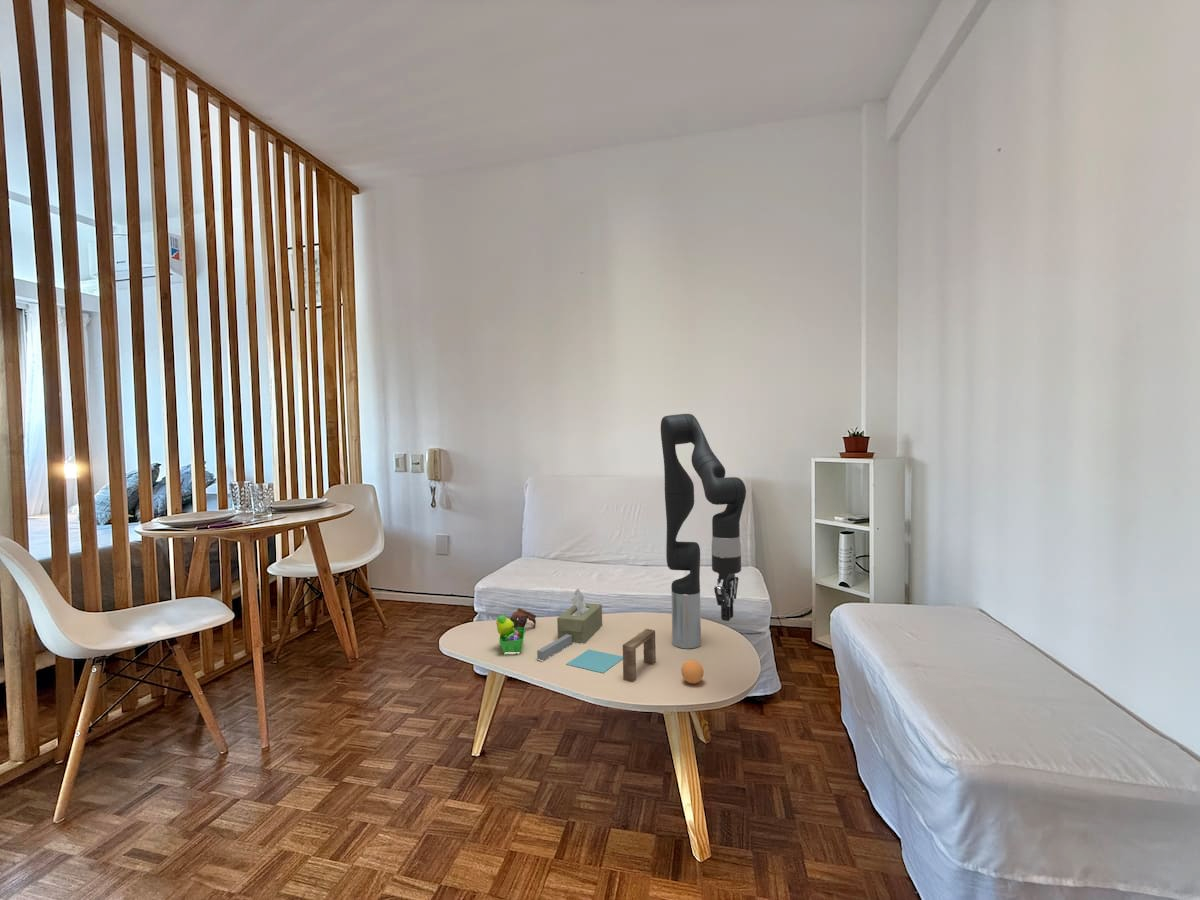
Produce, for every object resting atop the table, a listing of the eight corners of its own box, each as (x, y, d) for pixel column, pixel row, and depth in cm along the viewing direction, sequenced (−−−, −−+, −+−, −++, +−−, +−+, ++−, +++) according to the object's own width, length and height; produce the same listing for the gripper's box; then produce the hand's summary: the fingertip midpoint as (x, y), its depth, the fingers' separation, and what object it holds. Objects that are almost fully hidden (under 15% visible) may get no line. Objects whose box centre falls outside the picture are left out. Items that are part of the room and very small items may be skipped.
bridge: (623, 679, 149) (622, 645, 149) (646, 660, 162) (646, 628, 162) (632, 682, 148) (632, 647, 148) (655, 662, 161) (655, 630, 161)
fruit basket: (523, 655, 168) (523, 619, 168) (495, 657, 167) (494, 621, 167) (525, 642, 179) (524, 608, 179) (498, 644, 178) (497, 610, 178)
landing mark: (588, 649, 172) (588, 649, 172) (624, 657, 165) (624, 656, 165) (565, 664, 160) (565, 664, 160) (603, 673, 154) (603, 672, 154)
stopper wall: (566, 643, 178) (566, 634, 178) (571, 644, 177) (571, 635, 177) (537, 660, 164) (537, 650, 164) (542, 661, 163) (542, 651, 163)
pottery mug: (505, 627, 196) (515, 605, 198) (528, 637, 197) (538, 616, 199) (506, 629, 185) (516, 606, 187) (531, 640, 185) (541, 617, 188)
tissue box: (577, 623, 198) (576, 580, 197) (602, 626, 194) (601, 582, 194) (557, 641, 180) (556, 594, 180) (584, 644, 177) (583, 596, 176)
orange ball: (686, 676, 151) (686, 654, 151) (706, 680, 148) (706, 658, 148) (678, 684, 146) (677, 662, 146) (699, 689, 143) (698, 666, 143)
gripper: (720, 547, 149) (721, 609, 149) (703, 556, 137) (704, 624, 137) (747, 549, 145) (748, 613, 146) (732, 559, 133) (733, 629, 134)
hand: (727, 618), depth 141 cm, fingers closed
